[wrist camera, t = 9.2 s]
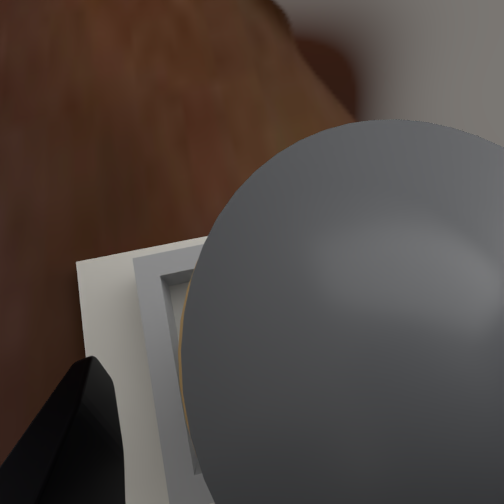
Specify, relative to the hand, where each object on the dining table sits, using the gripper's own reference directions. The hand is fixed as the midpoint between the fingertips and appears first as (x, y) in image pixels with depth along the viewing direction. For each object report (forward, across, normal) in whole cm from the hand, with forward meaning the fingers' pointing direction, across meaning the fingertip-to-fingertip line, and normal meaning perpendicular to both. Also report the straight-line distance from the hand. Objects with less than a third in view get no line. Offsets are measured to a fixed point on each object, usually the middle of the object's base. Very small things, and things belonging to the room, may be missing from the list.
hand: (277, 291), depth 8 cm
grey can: (+5, 0, +7) cm, 8 cm away
